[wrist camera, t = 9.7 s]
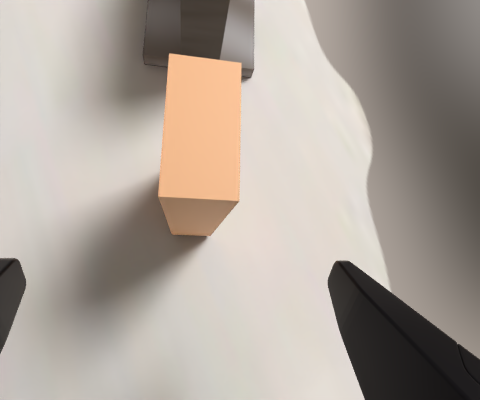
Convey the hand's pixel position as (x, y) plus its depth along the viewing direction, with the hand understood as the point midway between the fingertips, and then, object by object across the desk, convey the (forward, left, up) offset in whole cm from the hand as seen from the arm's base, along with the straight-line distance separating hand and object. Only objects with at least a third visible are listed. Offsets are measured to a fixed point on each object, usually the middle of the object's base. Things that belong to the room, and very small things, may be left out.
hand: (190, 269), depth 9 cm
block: (+4, -3, -11) cm, 12 cm away
